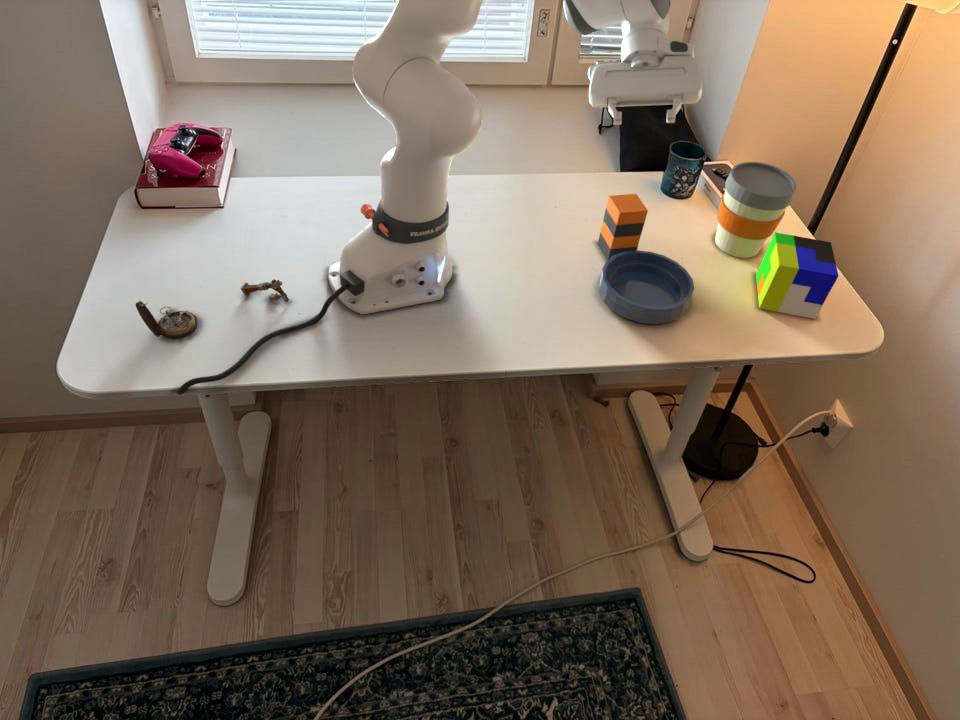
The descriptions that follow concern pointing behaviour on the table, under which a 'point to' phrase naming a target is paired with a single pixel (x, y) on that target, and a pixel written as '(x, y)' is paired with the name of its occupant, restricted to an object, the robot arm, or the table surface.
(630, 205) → the puzzle tower
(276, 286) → the gnarled brown twig
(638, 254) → the bowl
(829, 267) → the puzzle toy
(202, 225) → the table surface
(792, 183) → the reusable coffee cup
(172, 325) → the compass
